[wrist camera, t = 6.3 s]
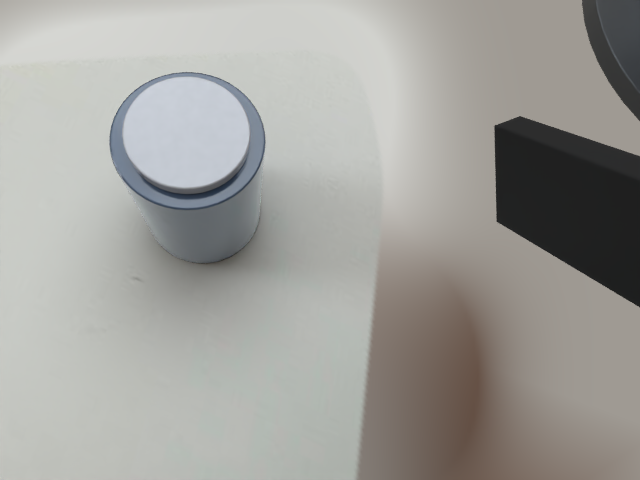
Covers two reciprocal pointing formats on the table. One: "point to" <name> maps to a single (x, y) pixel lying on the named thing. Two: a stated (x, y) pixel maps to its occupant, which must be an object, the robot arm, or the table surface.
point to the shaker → (192, 163)
